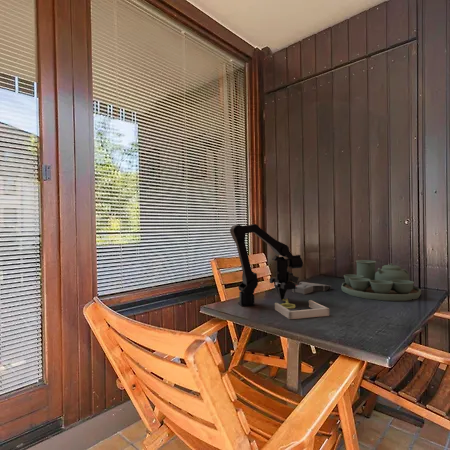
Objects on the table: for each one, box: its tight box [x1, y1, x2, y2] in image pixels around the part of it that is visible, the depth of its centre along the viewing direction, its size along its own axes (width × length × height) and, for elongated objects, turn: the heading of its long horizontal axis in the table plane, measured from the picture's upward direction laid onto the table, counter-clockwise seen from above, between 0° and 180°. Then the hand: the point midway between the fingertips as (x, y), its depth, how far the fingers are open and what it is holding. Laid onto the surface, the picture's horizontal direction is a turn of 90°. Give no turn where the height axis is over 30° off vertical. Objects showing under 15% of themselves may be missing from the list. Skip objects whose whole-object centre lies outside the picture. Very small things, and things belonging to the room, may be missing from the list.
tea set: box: [340, 259, 422, 302], centre depth 173 cm, size 40×40×16 cm
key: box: [279, 298, 296, 310], centre depth 148 cm, size 7×12×2 cm, turn 9°
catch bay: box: [274, 299, 330, 320], centre depth 136 cm, size 18×15×3 cm
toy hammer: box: [274, 281, 332, 295], centre depth 186 cm, size 24×4×30 cm
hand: (282, 299), depth 155 cm, fingers closed
